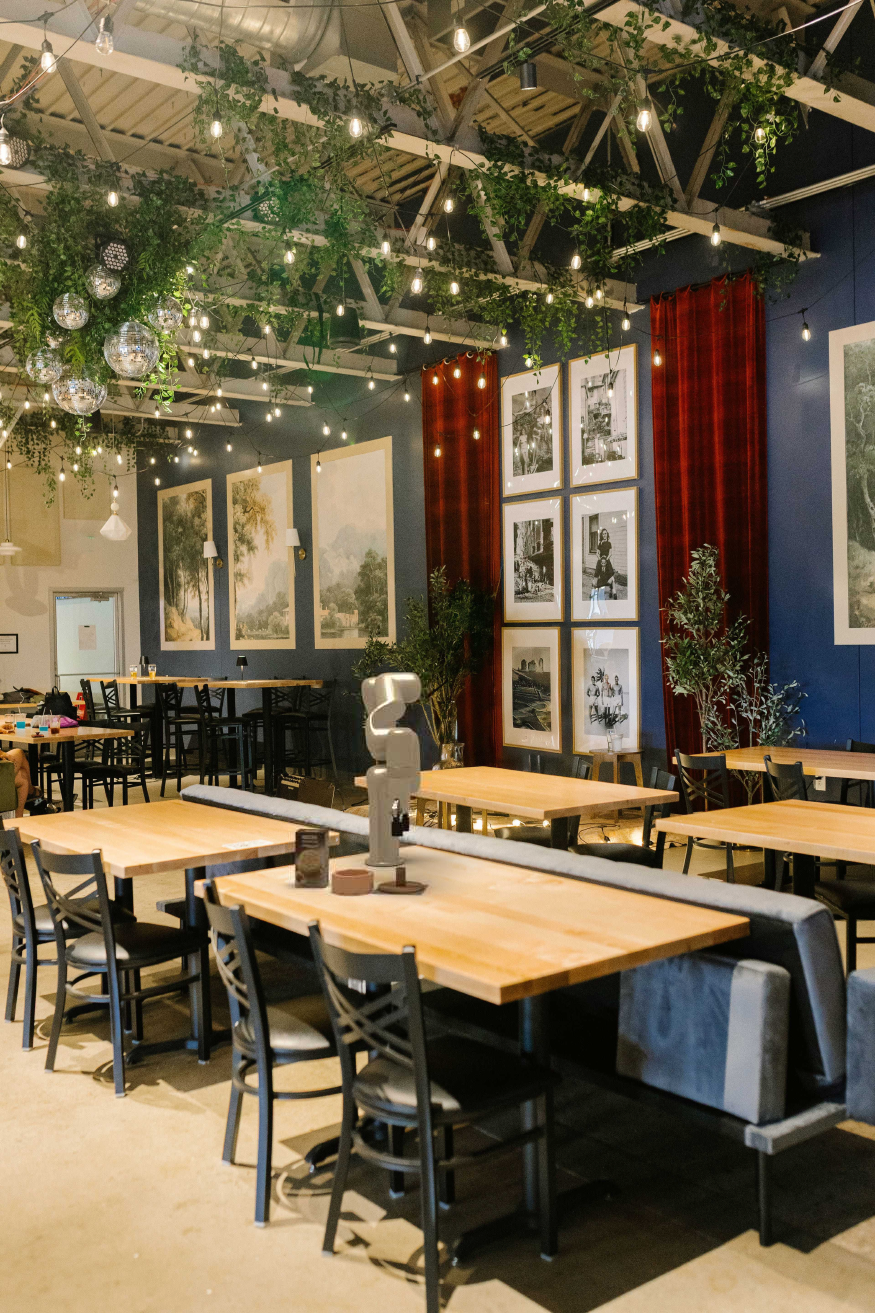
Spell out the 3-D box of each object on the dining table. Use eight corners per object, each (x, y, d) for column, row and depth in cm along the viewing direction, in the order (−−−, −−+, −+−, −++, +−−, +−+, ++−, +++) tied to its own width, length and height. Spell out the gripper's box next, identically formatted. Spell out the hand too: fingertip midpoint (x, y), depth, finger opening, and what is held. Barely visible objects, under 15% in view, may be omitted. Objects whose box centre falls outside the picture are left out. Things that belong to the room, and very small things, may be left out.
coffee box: (294, 887, 306) (293, 831, 306) (299, 883, 312) (298, 828, 312) (325, 888, 305) (325, 832, 305) (329, 883, 311) (329, 828, 311)
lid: (383, 884, 308) (382, 863, 308) (427, 885, 306) (427, 864, 306) (373, 893, 295) (373, 872, 295) (419, 894, 293) (419, 873, 293)
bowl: (338, 888, 305) (338, 868, 305) (376, 888, 303) (376, 869, 303) (328, 896, 294) (328, 876, 294) (367, 897, 292) (367, 877, 292)
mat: (381, 885, 308) (381, 883, 308) (429, 886, 306) (429, 884, 306) (371, 895, 295) (371, 894, 295) (421, 896, 292) (421, 895, 292)
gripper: (392, 770, 310) (393, 829, 309) (380, 776, 293) (381, 838, 292) (418, 770, 309) (418, 829, 308) (407, 776, 291) (408, 838, 291)
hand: (400, 834), depth 300 cm, fingers open, 9 cm apart
